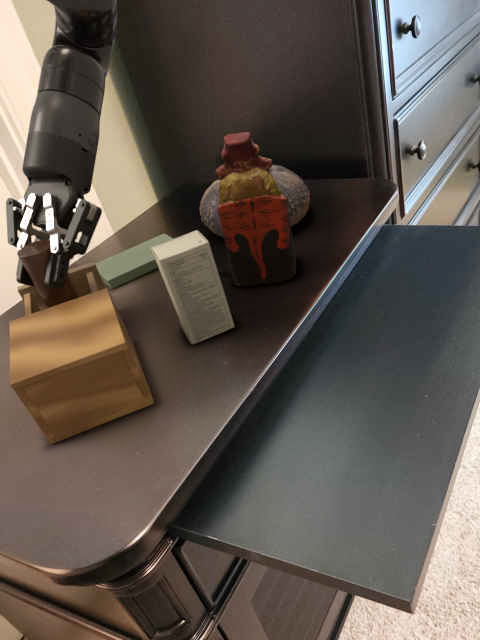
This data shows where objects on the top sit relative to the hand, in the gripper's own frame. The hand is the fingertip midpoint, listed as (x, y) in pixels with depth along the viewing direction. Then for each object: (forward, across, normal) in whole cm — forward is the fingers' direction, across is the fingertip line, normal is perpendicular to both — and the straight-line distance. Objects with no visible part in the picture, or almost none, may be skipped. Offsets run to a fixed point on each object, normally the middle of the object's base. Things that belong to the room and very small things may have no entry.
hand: (39, 285), depth 63 cm
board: (-9, -7, +23) cm, 26 cm away
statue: (-9, +16, +23) cm, 30 cm away
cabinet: (+11, +8, +3) cm, 14 cm away
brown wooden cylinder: (+4, 0, +7) cm, 8 cm away
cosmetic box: (+1, +16, +13) cm, 21 cm away
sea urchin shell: (-20, +8, +35) cm, 41 cm away
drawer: (+4, -2, +9) cm, 10 cm away
